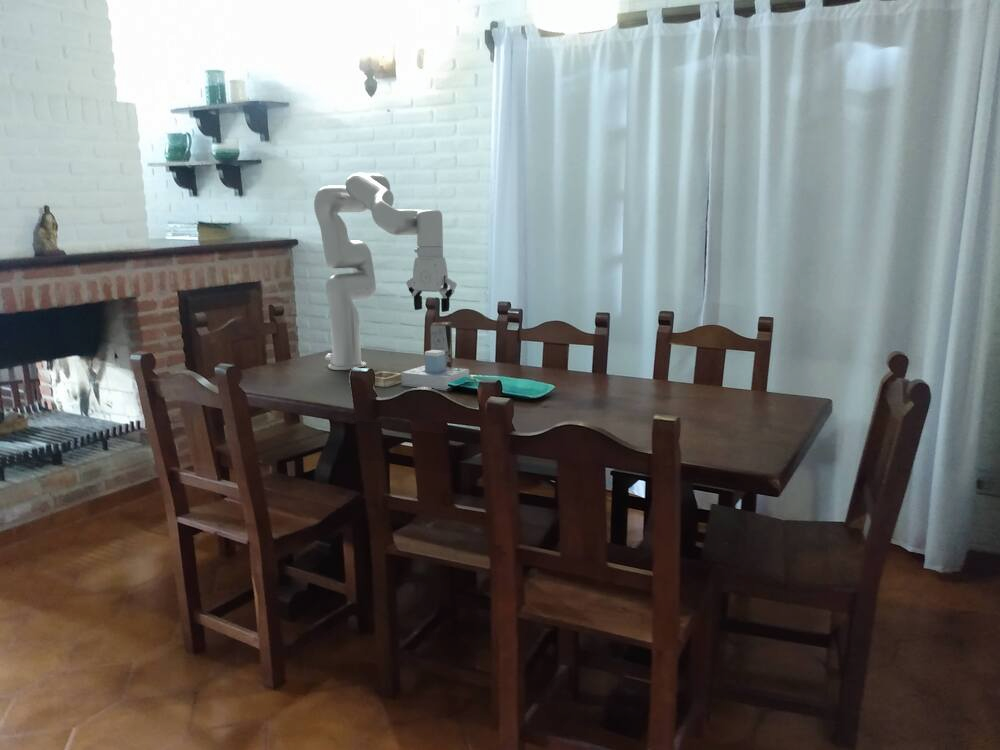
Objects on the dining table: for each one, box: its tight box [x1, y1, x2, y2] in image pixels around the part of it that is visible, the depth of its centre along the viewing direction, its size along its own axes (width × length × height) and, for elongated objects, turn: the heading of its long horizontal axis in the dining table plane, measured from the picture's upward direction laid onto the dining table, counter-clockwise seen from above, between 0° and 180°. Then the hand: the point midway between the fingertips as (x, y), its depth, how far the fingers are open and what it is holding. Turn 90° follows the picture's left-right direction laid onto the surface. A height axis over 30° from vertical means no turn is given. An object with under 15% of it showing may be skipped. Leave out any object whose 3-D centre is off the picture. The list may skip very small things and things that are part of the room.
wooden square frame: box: [374, 370, 402, 388], centre depth 234 cm, size 9×9×2 cm
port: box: [400, 364, 470, 391], centre depth 232 cm, size 16×13×4 cm
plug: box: [424, 349, 445, 374], centre depth 231 cm, size 4×4×9 cm
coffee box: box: [429, 321, 454, 368], centre depth 248 cm, size 9×6×16 cm
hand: (431, 310), depth 228 cm, fingers open, 9 cm apart
